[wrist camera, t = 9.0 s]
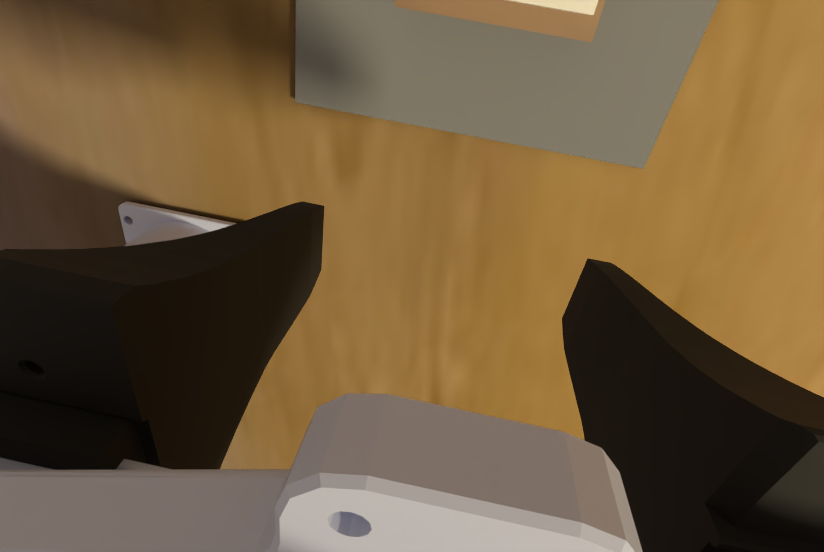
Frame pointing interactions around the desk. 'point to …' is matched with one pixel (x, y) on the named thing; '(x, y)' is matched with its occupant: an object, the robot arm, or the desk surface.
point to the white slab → (564, 5)
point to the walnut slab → (514, 15)
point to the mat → (504, 73)
